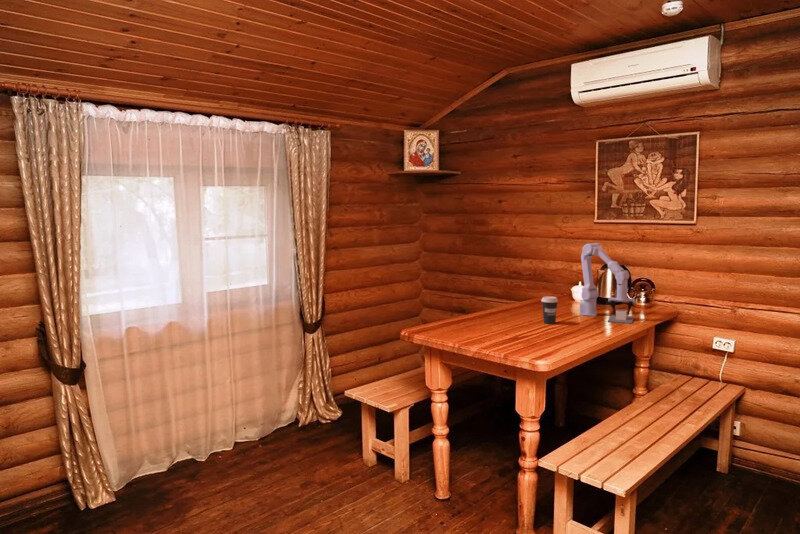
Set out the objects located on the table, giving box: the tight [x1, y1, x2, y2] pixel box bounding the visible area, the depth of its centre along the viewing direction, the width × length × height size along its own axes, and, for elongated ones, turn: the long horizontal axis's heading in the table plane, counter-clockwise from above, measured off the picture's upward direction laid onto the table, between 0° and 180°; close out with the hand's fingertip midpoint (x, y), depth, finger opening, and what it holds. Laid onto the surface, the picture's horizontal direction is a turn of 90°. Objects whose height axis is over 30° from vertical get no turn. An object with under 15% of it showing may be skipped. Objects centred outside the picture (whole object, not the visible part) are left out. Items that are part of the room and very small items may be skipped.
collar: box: [615, 308, 628, 320], centre depth 336 cm, size 6×6×5 cm
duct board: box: [607, 314, 635, 325], centre depth 336 cm, size 13×18×4 cm
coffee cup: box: [540, 295, 559, 325], centre depth 331 cm, size 10×10×15 cm
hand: (621, 314), depth 336 cm, fingers open, 7 cm apart
